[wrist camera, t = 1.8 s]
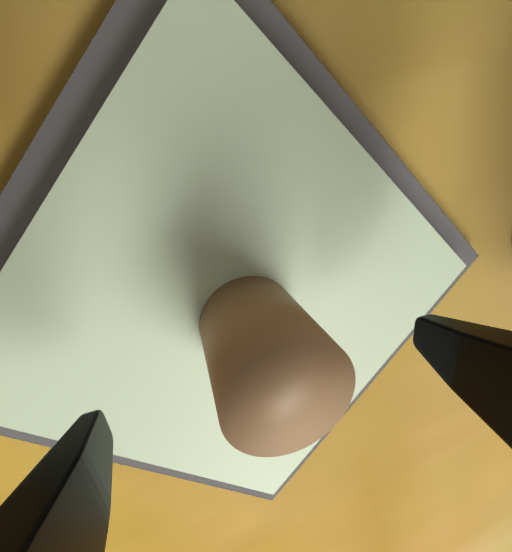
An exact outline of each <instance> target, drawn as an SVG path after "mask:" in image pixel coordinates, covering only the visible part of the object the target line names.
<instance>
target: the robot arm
mask: <svg viewBox="0 0 512 552" xmlns="http://www.w3.org/2000/svg"><path fill="white" fill-rule="evenodd" d="M413 343H414V345H415V347H416V348H417V350H418V351H419V352H420V353H421V354H422V356H423V357H424V358H425V359H426V360H427V361H428V363H429V364H430V365H431V366H432V367H433V368H434V370H435V371H436V372H437V373H438V374H439V375H440V377H441V378H442V379H443V380H444V381H445V382H446V383H447V385H448V386H449V387H450V388H451V389H452V390H453V391H454V392H455V393H456V394H457V395H458V396H459V397H460V398H461V399H462V400H463V401H464V402H465V403H466V404H467V405H468V406H469V407H470V408H471V409H472V410H473V411H474V412H475V413H476V414H477V415H478V416H479V417H480V418H481V419H482V420H483V421H484V422H485V423H486V424H487V425H488V426H489V427H490V428H491V429H492V430H493V431H494V432H495V433H496V434H497V435H498V436H499V437H500V438H501V439H502V440H503V441H504V442H505V443H506V444H507V445H508V446H509V447H510V448H512V331H509V330H504V329H500V328H495V327H490V326H485V325H480V324H476V323H471V322H466V321H461V320H456V319H452V318H447V317H442V316H437V315H432V314H427V315H423V316H420V317H418V318H416V320H415V325H414V334H413ZM112 464H113V435H112V432H111V430H110V427H109V425H108V423H107V420H106V418H105V415H104V413H103V412H102V411H101V410H95V411H91V412H88V413H84V414H82V415H81V416H80V417H79V418H78V419H77V420H76V421H75V422H74V423H73V424H72V426H71V427H70V428H69V429H68V430H67V431H66V432H65V434H64V435H63V436H62V437H61V438H60V439H59V440H58V441H57V443H56V444H55V445H54V446H53V447H52V448H51V449H50V450H49V452H48V453H47V454H46V455H45V456H44V457H43V458H42V459H41V461H40V462H39V463H38V464H37V465H36V466H35V467H34V468H33V470H32V471H31V472H30V473H29V474H28V475H27V476H26V478H25V479H24V480H23V481H22V482H21V483H20V484H19V485H18V487H17V488H16V489H15V490H14V491H13V492H12V493H11V494H10V496H9V497H8V498H7V499H6V500H5V501H4V502H3V503H2V505H1V506H0V552H105V546H106V539H107V532H108V525H109V517H110V507H111V487H112Z"/></svg>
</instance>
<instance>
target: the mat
mask: <svg viewBox="0 0 512 552" xmlns="http://www.w3.org/2000/svg"><path fill="white" fill-rule="evenodd" d="M234 1H235V2H236V3H237V4H238V5H239V6H240V8H241V9H242V10H243V11H244V12H245V13H246V14H247V16H248V17H249V18H250V19H251V20H252V21H253V22H254V24H255V25H256V26H257V27H258V28H259V29H260V30H261V32H262V33H263V34H264V35H265V36H266V37H267V38H268V40H269V41H270V42H271V43H272V44H273V45H274V46H275V48H276V49H277V50H278V51H279V52H280V53H281V54H282V56H283V57H284V58H285V59H286V60H287V61H288V62H289V64H290V65H291V66H292V67H293V68H294V69H295V70H296V72H297V73H298V74H299V75H300V76H301V77H302V78H303V80H304V81H305V82H306V83H307V84H308V85H309V86H310V88H311V89H312V90H313V91H314V92H315V93H316V94H317V96H318V97H319V98H320V99H321V100H322V101H323V102H324V104H325V105H326V106H327V107H328V108H329V109H330V110H331V112H332V113H333V114H334V115H335V116H336V117H337V118H338V120H339V121H340V122H341V123H342V124H343V125H344V126H345V128H346V129H347V130H348V131H349V132H350V133H351V134H352V136H353V137H354V138H355V139H356V140H357V141H358V142H359V144H360V145H361V146H362V147H363V148H364V149H365V150H366V152H367V153H368V154H369V155H370V156H371V157H372V158H373V160H374V161H375V162H376V163H377V164H378V165H379V166H380V168H381V169H382V170H383V171H384V172H385V173H386V174H387V176H388V177H389V178H390V179H391V180H392V181H393V182H394V184H395V185H396V186H397V187H398V188H399V189H400V190H401V192H402V193H403V194H404V195H405V196H406V197H407V198H408V200H409V201H410V202H411V203H412V204H413V205H414V206H415V208H416V209H417V210H418V211H419V212H420V213H421V214H422V216H423V217H424V218H425V219H426V220H427V221H428V222H429V224H430V225H431V226H432V227H433V228H434V229H435V230H436V232H437V233H438V234H439V235H440V236H441V237H442V238H443V240H444V241H445V242H446V243H447V244H448V245H449V246H450V248H451V249H452V250H453V251H454V252H455V253H456V254H457V256H458V257H459V258H460V259H461V260H462V261H463V262H464V264H465V265H466V267H465V268H464V269H463V271H462V272H461V273H460V274H459V275H458V276H457V278H456V279H455V280H454V281H453V282H452V284H451V285H450V286H449V287H448V288H447V289H446V291H445V292H444V293H443V294H442V295H441V297H440V298H439V299H438V300H437V301H436V303H435V304H434V305H433V306H432V307H431V308H430V310H429V311H428V312H427V313H426V314H425V315H427V314H430V313H431V312H432V310H433V309H434V308H435V307H436V306H437V304H438V303H439V302H440V301H441V300H442V299H443V297H444V296H445V295H446V294H447V293H448V291H449V290H450V289H451V288H452V287H453V286H454V284H455V283H456V282H457V281H458V280H459V278H460V277H461V276H462V275H463V274H464V273H465V271H466V270H467V269H468V268H469V267H470V265H471V264H472V263H473V262H474V261H475V260H476V258H477V257H478V256H479V255H478V254H477V253H476V252H475V250H474V249H473V248H472V247H471V245H470V244H469V243H468V242H467V241H466V239H465V238H464V237H463V236H462V234H461V233H460V232H459V231H458V230H457V228H456V227H455V226H454V225H453V223H452V222H451V221H450V220H449V219H448V217H447V216H446V215H445V214H444V212H443V211H442V210H441V209H440V208H439V206H438V205H437V204H436V203H435V201H434V200H433V199H432V198H431V196H430V195H429V194H428V193H427V192H426V190H425V189H424V188H423V187H422V185H421V184H420V183H419V182H418V181H417V179H416V178H415V177H414V176H413V174H412V173H411V172H410V171H409V170H408V168H407V167H406V166H405V165H404V163H403V162H402V161H401V160H400V159H399V157H398V156H397V155H396V154H395V152H394V151H393V150H392V149H391V148H390V146H389V145H388V144H387V143H386V141H385V140H384V139H383V138H382V137H381V135H380V134H379V133H378V132H377V130H376V129H375V128H374V127H373V126H372V124H371V123H370V122H369V121H368V119H367V118H366V117H365V116H364V114H363V113H362V112H361V111H360V110H359V108H358V107H357V106H356V105H355V103H354V102H353V101H352V100H351V99H350V97H349V96H348V95H347V94H346V92H345V91H344V90H343V89H342V88H341V86H340V85H339V84H338V83H337V81H336V80H335V79H334V78H333V77H332V75H331V74H330V73H329V72H328V70H327V69H326V68H325V67H324V66H323V64H322V63H321V62H320V61H319V59H318V58H317V57H316V56H315V55H314V53H313V52H312V51H311V50H310V48H309V47H308V46H307V45H306V44H305V42H304V41H303V40H302V39H301V37H300V36H299V35H298V34H297V32H296V31H295V30H294V29H293V28H292V26H291V25H290V24H289V23H288V21H287V20H286V19H285V18H284V17H283V15H282V14H281V13H280V12H279V10H278V9H277V8H276V7H275V6H274V4H273V3H272V2H271V1H270V0H234ZM166 2H167V0H116V1H115V2H114V4H113V6H112V7H111V9H110V11H109V13H108V14H107V16H106V18H105V19H104V21H103V23H102V24H101V26H100V28H99V29H98V31H97V33H96V34H95V36H94V38H93V39H92V41H91V43H90V45H89V46H88V48H87V50H86V51H85V53H84V55H83V56H82V58H81V60H80V61H79V63H78V65H77V66H76V68H75V70H74V71H73V73H72V75H71V77H70V78H69V80H68V82H67V83H66V85H65V87H64V88H63V90H62V92H61V93H60V95H59V97H58V98H57V100H56V102H55V103H54V105H53V107H52V109H51V110H50V112H49V114H48V115H47V117H46V119H45V120H44V122H43V124H42V125H41V127H40V129H39V130H38V132H37V134H36V135H35V137H34V139H33V141H32V142H31V144H30V146H29V147H28V149H27V151H26V152H25V154H24V156H23V157H22V159H21V161H20V162H19V164H18V166H17V167H16V169H15V171H14V173H13V174H12V176H11V178H10V179H9V181H8V183H7V184H6V186H5V188H4V189H3V191H2V193H1V194H0V271H1V270H2V268H3V266H4V265H5V263H6V262H7V260H8V258H9V257H10V255H11V253H12V252H13V250H14V249H15V247H16V245H17V244H18V242H19V240H20V239H21V237H22V236H23V234H24V232H25V231H26V229H27V228H28V226H29V224H30V223H31V221H32V219H33V218H34V216H35V215H36V213H37V211H38V210H39V208H40V206H41V205H42V203H43V202H44V200H45V198H46V197H47V195H48V193H49V192H50V190H51V189H52V187H53V185H54V184H55V182H56V180H57V179H58V177H59V176H60V174H61V172H62V171H63V169H64V167H65V166H66V164H67V163H68V161H69V159H70V158H71V156H72V154H73V153H74V151H75V150H76V148H77V146H78V145H79V143H80V141H81V140H82V138H83V137H84V135H85V133H86V132H87V130H88V129H89V127H90V125H91V124H92V122H93V120H94V119H95V117H96V116H97V114H98V112H99V111H100V109H101V107H102V106H103V104H104V103H105V101H106V99H107V98H108V96H109V94H110V93H111V91H112V90H113V88H114V86H115V85H116V83H117V81H118V80H119V78H120V77H121V75H122V73H123V72H124V70H125V68H126V67H127V65H128V64H129V62H130V60H131V59H132V57H133V55H134V54H135V52H136V51H137V49H138V47H139V46H140V44H141V42H142V41H143V39H144V38H145V36H146V34H147V33H148V31H149V29H150V28H151V26H152V25H153V23H154V21H155V20H156V18H157V17H158V15H159V13H160V12H161V10H162V8H163V7H164V5H165V4H166ZM413 333H414V329H413V330H412V331H411V332H410V333H409V335H408V336H407V337H406V338H405V339H404V340H403V342H402V343H401V344H400V345H399V346H398V348H397V349H396V350H395V351H394V352H393V353H392V355H391V356H390V357H389V358H388V359H387V361H386V362H385V363H384V364H383V365H382V367H381V368H380V369H379V370H378V371H377V372H376V374H375V375H374V376H373V377H372V378H371V380H370V381H369V382H368V383H367V384H366V386H365V387H364V388H363V389H362V390H361V391H360V393H359V394H358V395H357V396H356V397H355V399H354V400H353V401H352V402H351V403H350V405H349V407H348V409H347V410H346V412H347V411H348V410H349V409H350V407H351V406H352V405H353V404H354V403H355V401H356V400H357V399H358V398H359V397H360V396H361V394H362V393H363V392H364V391H365V390H366V388H367V387H368V386H369V385H370V384H371V383H372V381H373V380H374V379H375V378H376V377H377V375H378V374H379V373H380V372H381V371H382V370H383V368H384V367H385V366H386V365H387V364H388V362H389V361H390V360H391V359H392V358H393V357H394V355H395V354H396V353H397V352H398V351H399V349H400V348H401V347H402V346H403V345H404V344H405V342H406V341H407V340H408V339H409V338H410V336H411V335H412V334H413ZM346 412H345V413H346ZM344 415H345V414H344ZM344 415H343V416H344ZM333 428H334V427H333ZM333 428H332V429H333ZM332 429H331V430H332ZM331 430H330V431H331ZM330 431H329V432H330ZM329 432H328V433H329ZM328 433H327V434H326V435H325V436H323V437H322V438H321V439H320V440H319V441H318V442H317V444H316V445H315V446H314V447H313V448H312V450H311V451H310V452H309V453H308V454H307V455H306V457H305V458H304V459H303V460H302V461H301V463H300V464H299V465H298V466H297V467H296V468H295V470H294V471H293V472H292V473H291V474H290V476H289V477H288V478H287V479H286V480H285V482H284V483H283V484H282V485H281V486H280V487H279V489H278V490H277V491H276V492H275V493H274V495H272V494H268V493H264V492H260V491H256V490H252V489H248V488H244V487H241V486H237V485H233V484H229V483H225V482H221V481H217V480H213V479H209V478H205V477H201V476H197V475H193V474H189V473H185V472H181V471H177V470H173V469H169V468H165V467H161V466H157V465H153V464H149V463H145V462H141V461H137V460H133V459H129V458H125V457H121V456H117V455H113V462H114V463H118V464H123V465H127V466H131V467H135V468H139V469H143V470H148V471H152V472H156V473H160V474H164V475H169V476H173V477H177V478H181V479H185V480H189V481H194V482H198V483H202V484H206V485H210V486H215V487H219V488H223V489H227V490H231V491H235V492H240V493H244V494H248V495H252V496H256V497H261V498H265V499H269V500H273V498H274V497H275V496H276V495H277V494H278V493H279V491H280V490H281V489H282V488H283V487H284V485H285V484H286V483H287V482H288V481H289V480H290V478H291V477H292V476H293V475H294V474H295V472H296V471H297V470H298V469H299V468H300V467H301V465H302V464H303V463H304V462H305V461H306V459H307V458H308V457H309V456H310V455H311V454H312V452H313V451H314V450H315V449H316V448H317V446H318V445H319V444H320V443H321V442H322V441H323V439H324V438H325V437H326V436H327V435H328ZM0 435H1V436H6V437H10V438H14V439H18V440H22V441H26V442H31V443H35V444H39V445H43V446H47V447H51V448H52V447H53V446H54V445H55V444H56V443H57V440H53V439H49V438H45V437H41V436H37V435H33V434H29V433H25V432H21V431H17V430H13V429H9V428H5V427H1V426H0Z"/></svg>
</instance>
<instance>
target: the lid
mask: <svg viewBox="0 0 512 552" xmlns="http://www.w3.org/2000/svg"><path fill="white" fill-rule="evenodd" d="M465 267H466V265H465V264H464V262H463V261H462V260H461V259H460V258H459V257H458V256H457V254H456V253H455V252H454V251H453V250H452V249H451V248H450V246H449V245H448V244H447V243H446V242H445V241H444V240H443V238H442V237H441V236H440V235H439V234H438V233H437V232H436V230H435V229H434V228H433V227H432V226H431V225H430V224H429V222H428V221H427V220H426V219H425V218H424V217H423V216H422V214H421V213H420V212H419V211H418V210H417V209H416V208H415V206H414V205H413V204H412V203H411V202H410V201H409V200H408V198H407V197H406V196H405V195H404V194H403V193H402V192H401V190H400V189H399V188H398V187H397V186H396V185H395V184H394V182H393V181H392V180H391V179H390V178H389V177H388V176H387V174H386V173H385V172H384V171H383V170H382V169H381V168H380V166H379V165H378V164H377V163H376V162H375V161H374V160H373V158H372V157H371V156H370V155H369V154H368V153H367V152H366V150H365V149H364V148H363V147H362V146H361V145H360V144H359V142H358V141H357V140H356V139H355V138H354V137H353V136H352V134H351V133H350V132H349V131H348V130H347V129H346V128H345V126H344V125H343V124H342V123H341V122H340V121H339V120H338V118H337V117H336V116H335V115H334V114H333V113H332V112H331V110H330V109H329V108H328V107H327V106H326V105H325V104H324V102H323V101H322V100H321V99H320V98H319V97H318V96H317V94H316V93H315V92H314V91H313V90H312V89H311V88H310V86H309V85H308V84H307V83H306V82H305V81H304V80H303V78H302V77H301V76H300V75H299V74H298V73H297V72H296V70H295V69H294V68H293V67H292V66H291V65H290V64H289V62H288V61H287V60H286V59H285V58H284V57H283V56H282V54H281V53H280V52H279V51H278V50H277V49H276V48H275V46H274V45H273V44H272V43H271V42H270V41H269V40H268V38H267V37H266V36H265V35H264V34H263V33H262V32H261V30H260V29H259V28H258V27H257V26H256V25H255V24H254V22H253V21H252V20H251V19H250V18H249V17H248V16H247V14H246V13H245V12H244V11H243V10H242V9H241V8H240V6H239V5H238V4H237V3H236V2H235V1H234V0H167V2H166V4H165V5H164V7H163V8H162V10H161V12H160V13H159V15H158V17H157V18H156V20H155V21H154V23H153V25H152V26H151V28H150V29H149V31H148V33H147V34H146V36H145V38H144V39H143V41H142V42H141V44H140V46H139V47H138V49H137V51H136V52H135V54H134V55H133V57H132V59H131V60H130V62H129V64H128V65H127V67H126V68H125V70H124V72H123V73H122V75H121V77H120V78H119V80H118V81H117V83H116V85H115V86H114V88H113V90H112V91H111V93H110V94H109V96H108V98H107V99H106V101H105V103H104V104H103V106H102V107H101V109H100V111H99V112H98V114H97V116H96V117H95V119H94V120H93V122H92V124H91V125H90V127H89V129H88V130H87V132H86V133H85V135H84V137H83V138H82V140H81V141H80V143H79V145H78V146H77V148H76V150H75V151H74V153H73V154H72V156H71V158H70V159H69V161H68V163H67V164H66V166H65V167H64V169H63V171H62V172H61V174H60V176H59V177H58V179H57V180H56V182H55V184H54V185H53V187H52V189H51V190H50V192H49V193H48V195H47V197H46V198H45V200H44V202H43V203H42V205H41V206H40V208H39V210H38V211H37V213H36V215H35V216H34V218H33V219H32V221H31V223H30V224H29V226H28V228H27V229H26V231H25V232H24V234H23V236H22V237H21V239H20V240H19V242H18V244H17V245H16V247H15V249H14V250H13V252H12V253H11V255H10V257H9V258H8V260H7V262H6V263H5V265H4V266H3V268H2V270H1V271H0V426H1V427H5V428H9V429H13V430H17V431H21V432H25V433H29V434H33V435H37V436H41V437H45V438H49V439H53V440H57V441H58V440H59V439H60V438H61V437H62V436H63V435H64V434H65V432H66V431H67V430H68V429H69V428H70V427H71V426H72V424H73V423H74V422H75V421H76V420H77V419H78V418H79V417H80V416H81V415H82V414H84V413H88V412H91V411H95V410H101V411H102V412H103V413H104V415H105V418H106V420H107V423H108V425H109V427H110V430H111V432H112V435H113V455H117V456H121V457H125V458H129V459H133V460H137V461H141V462H145V463H149V464H153V465H157V466H161V467H165V468H169V469H173V470H177V471H181V472H185V473H189V474H193V475H197V476H201V477H205V478H209V479H213V480H217V481H221V482H225V483H229V484H233V485H237V486H241V487H244V488H248V489H252V490H256V491H260V492H264V493H268V494H272V495H274V493H275V492H276V491H277V490H278V489H279V487H280V486H281V485H282V484H283V483H284V482H285V480H286V479H287V478H288V477H289V476H290V474H291V473H292V472H293V471H294V470H295V468H296V467H297V466H298V465H299V464H300V463H301V461H302V460H303V459H304V458H305V457H306V455H307V454H308V453H309V452H310V451H311V450H312V448H313V447H314V446H315V445H316V444H317V442H318V441H319V440H320V439H321V438H322V437H323V436H325V435H326V434H327V433H328V432H329V431H330V430H331V429H332V428H333V427H334V426H335V425H336V424H337V423H338V422H339V420H340V419H341V418H342V417H343V415H344V414H345V412H346V410H347V409H348V407H349V405H350V403H351V402H352V401H353V400H354V399H355V397H356V396H357V395H358V394H359V393H360V391H361V390H362V389H363V388H364V387H365V386H366V384H367V383H368V382H369V381H370V380H371V378H372V377H373V376H374V375H375V374H376V372H377V371H378V370H379V369H380V368H381V367H382V365H383V364H384V363H385V362H386V361H387V359H388V358H389V357H390V356H391V355H392V353H393V352H394V351H395V350H396V349H397V348H398V346H399V345H400V344H401V343H402V342H403V340H404V339H405V338H406V337H407V336H408V335H409V333H410V332H411V331H412V330H413V329H414V325H415V320H416V318H418V317H420V316H423V315H425V314H426V313H427V312H428V311H429V310H430V308H431V307H432V306H433V305H434V304H435V303H436V301H437V300H438V299H439V298H440V297H441V295H442V294H443V293H444V292H445V291H446V289H447V288H448V287H449V286H450V285H451V284H452V282H453V281H454V280H455V279H456V278H457V276H458V275H459V274H460V273H461V272H462V271H463V269H464V268H465Z"/></svg>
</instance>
